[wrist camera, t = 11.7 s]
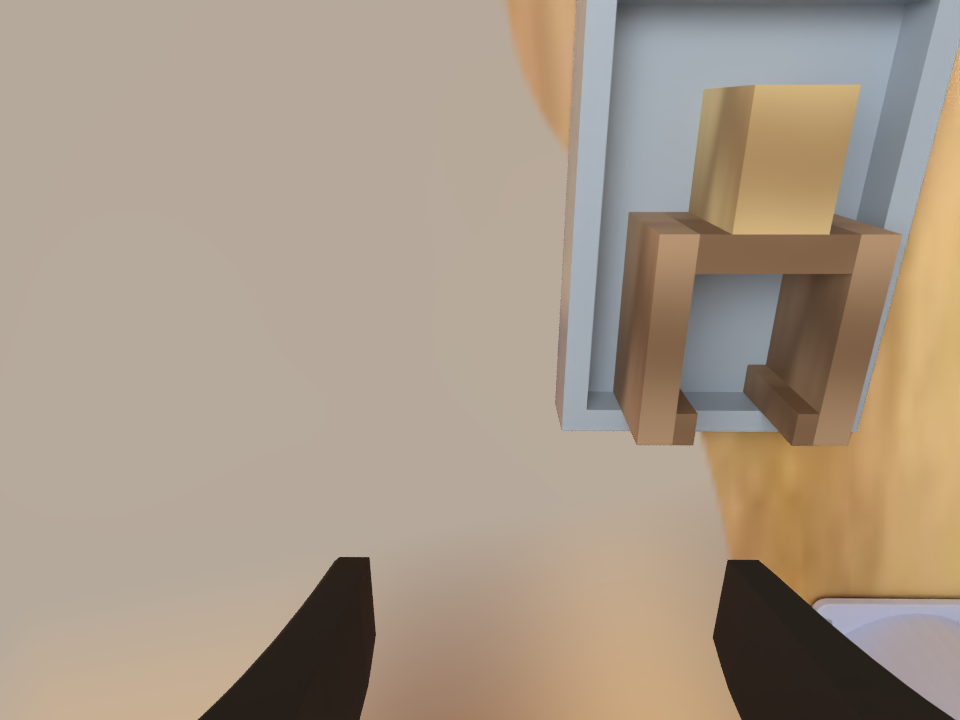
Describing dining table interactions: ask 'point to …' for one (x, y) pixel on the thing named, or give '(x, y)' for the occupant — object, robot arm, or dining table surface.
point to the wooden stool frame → (759, 266)
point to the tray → (671, 156)
